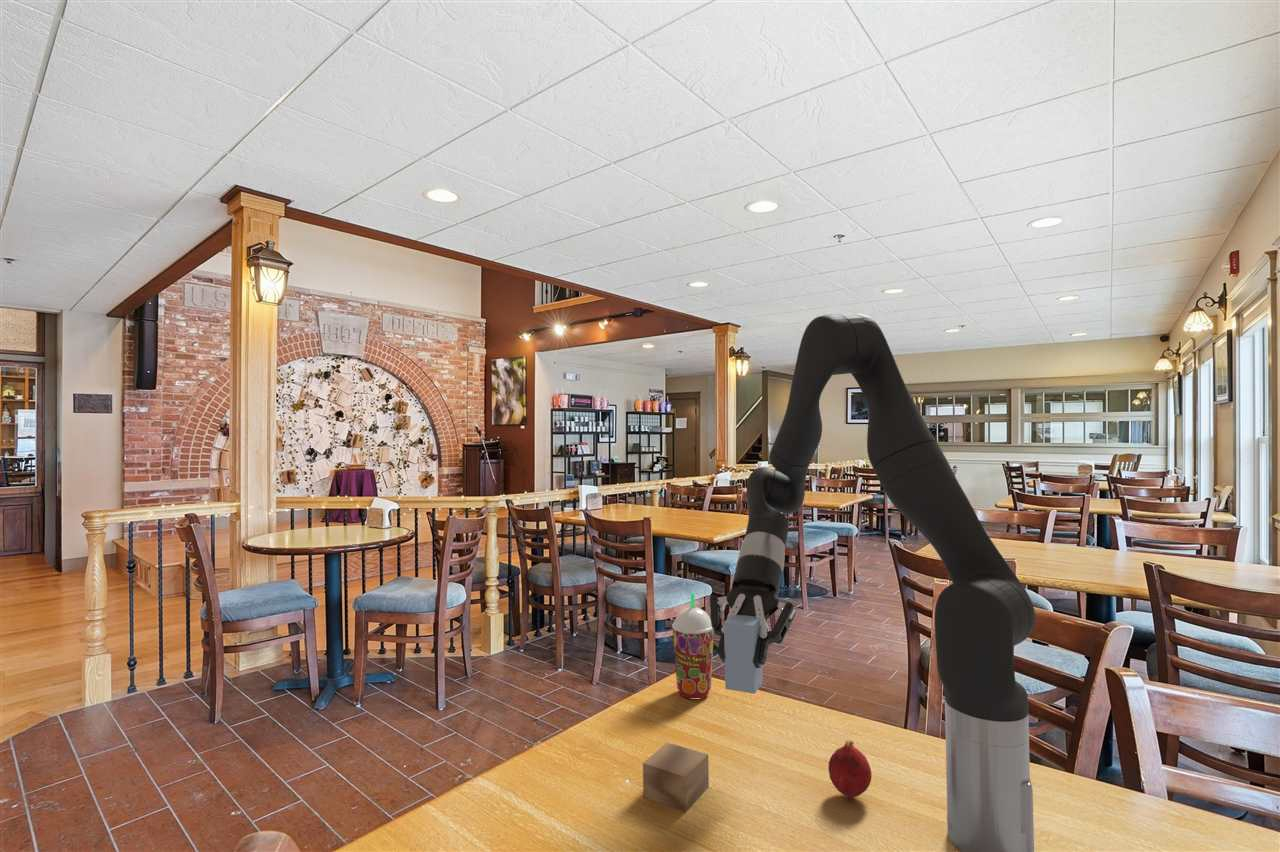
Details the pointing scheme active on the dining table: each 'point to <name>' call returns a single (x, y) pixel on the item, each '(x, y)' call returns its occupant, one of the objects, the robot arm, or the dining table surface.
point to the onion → (849, 770)
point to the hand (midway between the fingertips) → (740, 662)
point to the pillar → (741, 654)
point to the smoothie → (693, 651)
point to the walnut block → (675, 776)
